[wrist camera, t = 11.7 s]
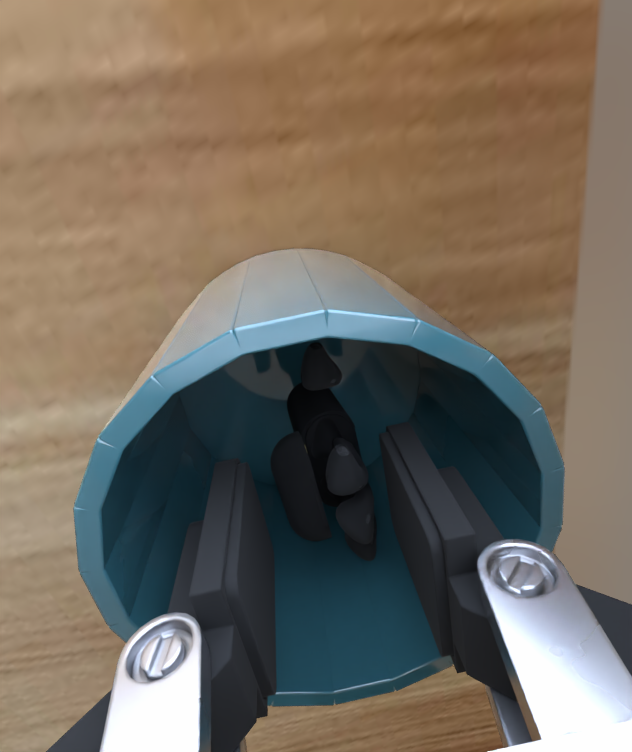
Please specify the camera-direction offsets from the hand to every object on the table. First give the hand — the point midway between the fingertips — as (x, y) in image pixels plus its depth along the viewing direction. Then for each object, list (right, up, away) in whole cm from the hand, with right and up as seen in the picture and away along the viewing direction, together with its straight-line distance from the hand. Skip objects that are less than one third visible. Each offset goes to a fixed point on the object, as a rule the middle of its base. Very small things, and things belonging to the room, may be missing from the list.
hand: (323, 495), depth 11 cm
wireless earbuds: (-1, +2, +4) cm, 4 cm away
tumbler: (-1, +3, +7) cm, 7 cm away
